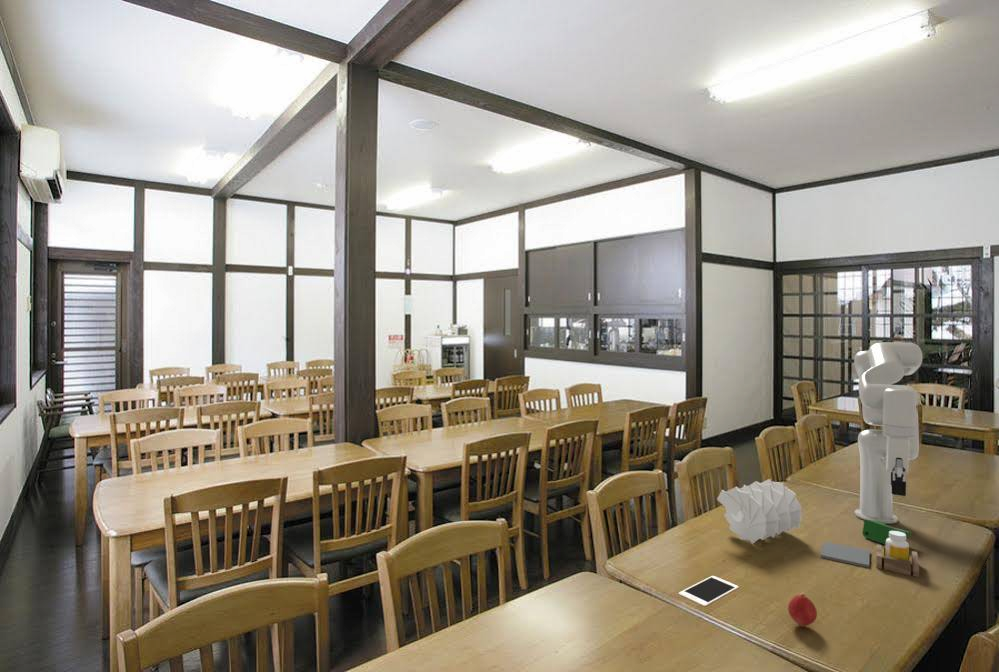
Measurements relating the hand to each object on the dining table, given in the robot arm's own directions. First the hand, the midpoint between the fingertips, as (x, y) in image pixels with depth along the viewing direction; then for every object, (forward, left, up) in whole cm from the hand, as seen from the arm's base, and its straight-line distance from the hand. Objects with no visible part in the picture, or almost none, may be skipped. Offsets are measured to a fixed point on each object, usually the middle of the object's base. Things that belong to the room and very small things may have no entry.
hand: (898, 490), depth 154 cm
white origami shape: (-2, -36, -22) cm, 42 cm away
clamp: (-19, -2, -22) cm, 30 cm away
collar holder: (0, 0, -22) cm, 22 cm away
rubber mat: (0, -13, -22) cm, 25 cm away
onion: (+50, -19, -22) cm, 58 cm away
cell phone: (+45, -41, -23) cm, 65 cm away
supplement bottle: (0, 0, -22) cm, 22 cm away
